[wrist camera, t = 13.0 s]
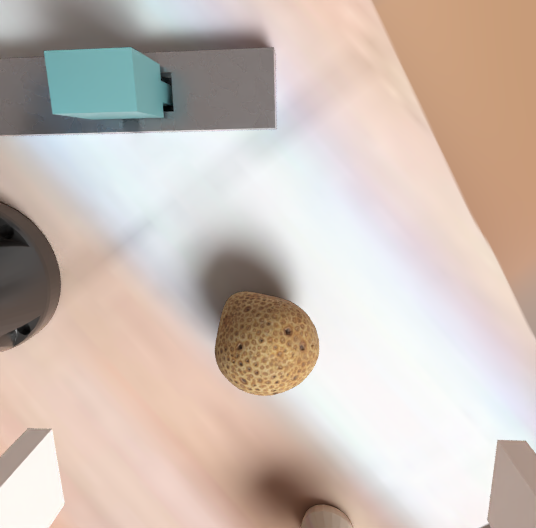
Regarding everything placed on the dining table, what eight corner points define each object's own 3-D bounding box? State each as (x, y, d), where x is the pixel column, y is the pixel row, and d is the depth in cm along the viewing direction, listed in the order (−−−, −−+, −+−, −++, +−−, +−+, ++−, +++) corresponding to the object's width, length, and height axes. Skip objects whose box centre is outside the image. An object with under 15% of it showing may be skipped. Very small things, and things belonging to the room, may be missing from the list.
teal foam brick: (107, 121, 39) (52, 114, 30) (102, 73, 38) (43, 50, 29) (174, 120, 38) (137, 111, 30) (170, 70, 37) (131, 47, 29)
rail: (13, 136, 40) (-5, 135, 37) (1, 64, 38) (-19, 59, 36) (276, 129, 38) (275, 127, 36) (275, 54, 36) (273, 47, 34)
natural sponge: (299, 375, 44) (298, 438, 34) (214, 349, 44) (190, 405, 34) (328, 293, 41) (336, 337, 32) (238, 266, 41) (219, 301, 32)
